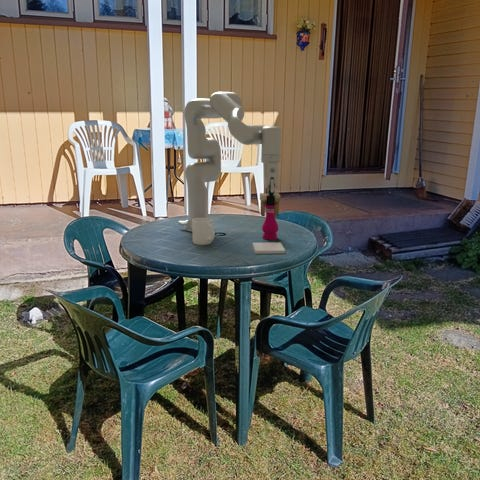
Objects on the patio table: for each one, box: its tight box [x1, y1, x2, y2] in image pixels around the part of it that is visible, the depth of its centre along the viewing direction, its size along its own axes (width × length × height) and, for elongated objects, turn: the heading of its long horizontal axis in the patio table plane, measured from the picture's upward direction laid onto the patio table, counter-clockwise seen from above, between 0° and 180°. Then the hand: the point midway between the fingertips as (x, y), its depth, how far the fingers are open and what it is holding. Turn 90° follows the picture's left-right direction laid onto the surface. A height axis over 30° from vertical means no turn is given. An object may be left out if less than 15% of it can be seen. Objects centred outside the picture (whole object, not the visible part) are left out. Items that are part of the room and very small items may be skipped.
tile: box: [252, 242, 286, 255], centre depth 203 cm, size 12×12×1 cm
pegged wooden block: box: [259, 192, 281, 217], centre depth 198 cm, size 5×8×8 cm, turn 94°
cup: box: [192, 217, 216, 246], centre depth 209 cm, size 8×12×10 cm
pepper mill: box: [261, 203, 279, 241], centre depth 218 cm, size 7×7×20 cm
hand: (269, 203), depth 198 cm, fingers closed on pegged wooden block, 5 cm apart
